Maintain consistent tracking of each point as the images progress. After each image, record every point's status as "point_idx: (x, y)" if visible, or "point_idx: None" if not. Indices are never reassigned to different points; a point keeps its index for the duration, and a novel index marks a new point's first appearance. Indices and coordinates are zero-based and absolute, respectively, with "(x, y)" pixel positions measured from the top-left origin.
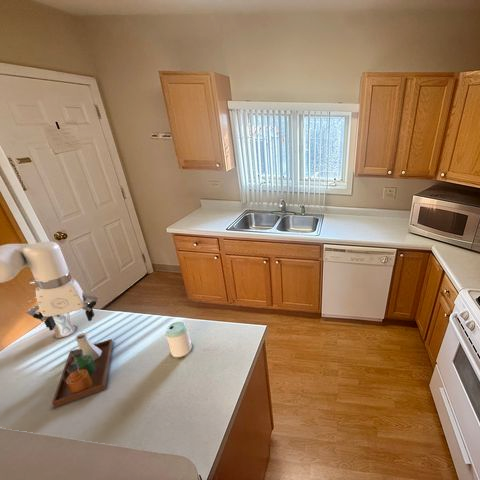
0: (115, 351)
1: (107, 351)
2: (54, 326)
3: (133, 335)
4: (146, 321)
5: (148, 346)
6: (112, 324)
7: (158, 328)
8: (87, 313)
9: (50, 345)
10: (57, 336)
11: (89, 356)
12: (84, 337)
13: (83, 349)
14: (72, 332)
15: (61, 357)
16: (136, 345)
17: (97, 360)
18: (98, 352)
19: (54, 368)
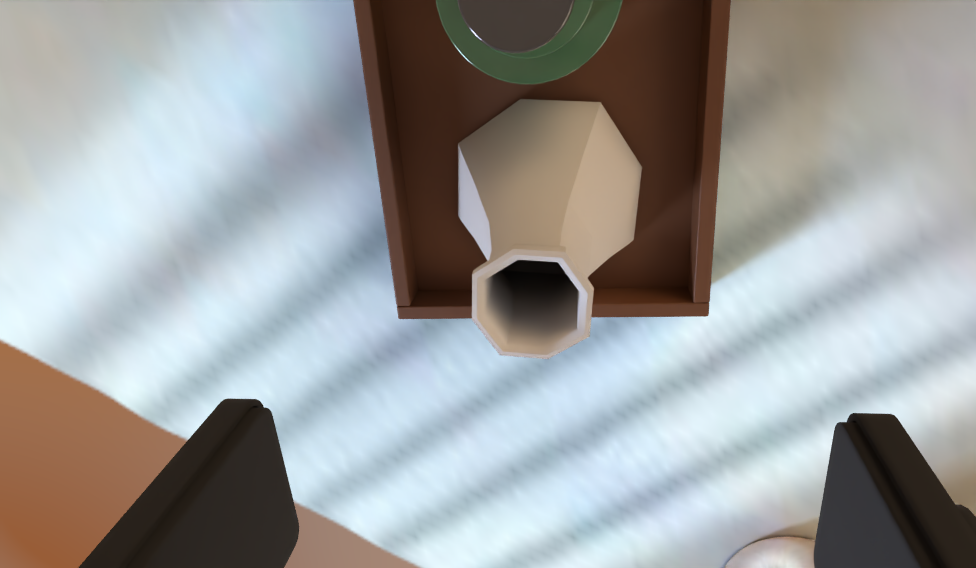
0: (364, 177)
1: (390, 159)
2: (825, 502)
3: (270, 316)
4: None
5: (100, 111)
6: (466, 518)
7: (91, 312)
8: (118, 540)
9: None
10: None
11: (460, 36)
12: (485, 266)
13: (543, 186)
14: (734, 556)
15: (776, 306)
16: (209, 174)
17: (477, 110)
18: (464, 179)
19: (813, 190)
